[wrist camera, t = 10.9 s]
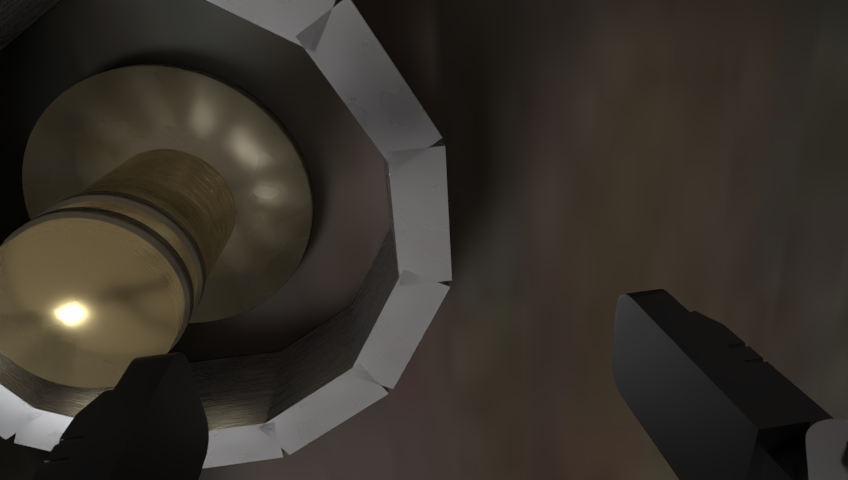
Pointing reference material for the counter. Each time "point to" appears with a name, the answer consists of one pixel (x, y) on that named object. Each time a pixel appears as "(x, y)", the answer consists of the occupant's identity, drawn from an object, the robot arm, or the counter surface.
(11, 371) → the steel ring
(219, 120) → the brass door knob
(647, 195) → the counter surface
